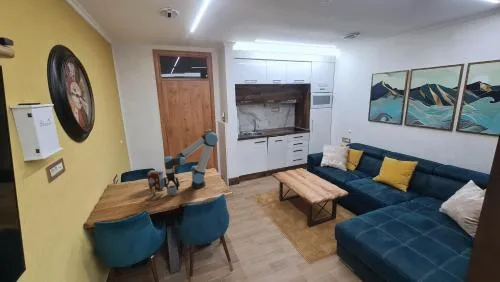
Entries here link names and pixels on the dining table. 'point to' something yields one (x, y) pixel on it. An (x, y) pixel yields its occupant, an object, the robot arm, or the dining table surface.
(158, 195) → the peg on base
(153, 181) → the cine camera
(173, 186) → the hollow square steel tube
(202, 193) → the dining table surface
